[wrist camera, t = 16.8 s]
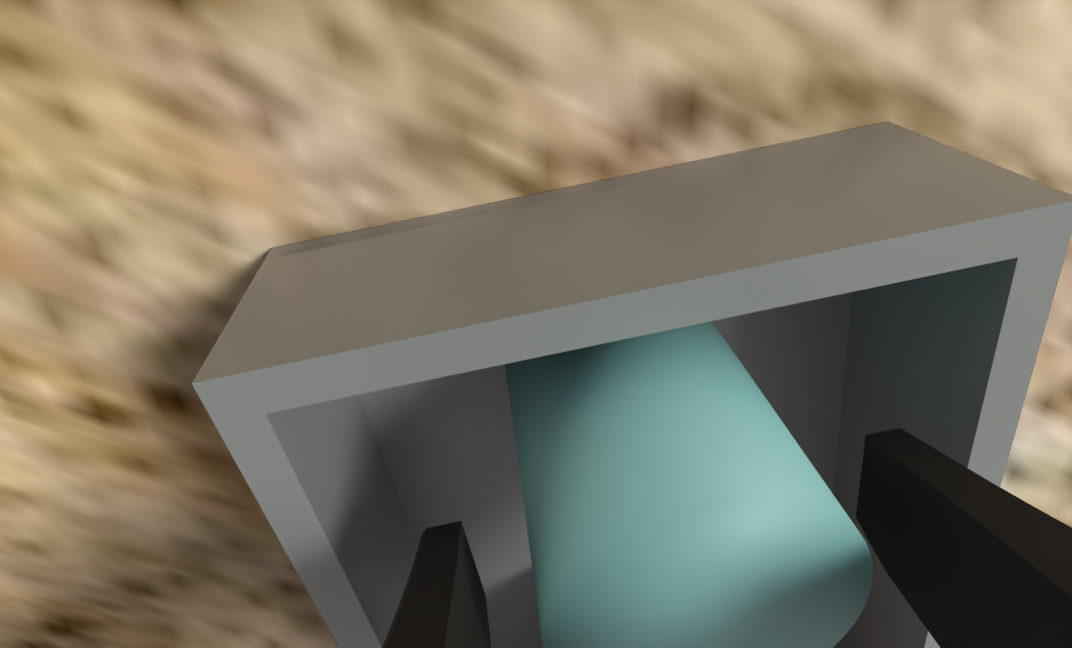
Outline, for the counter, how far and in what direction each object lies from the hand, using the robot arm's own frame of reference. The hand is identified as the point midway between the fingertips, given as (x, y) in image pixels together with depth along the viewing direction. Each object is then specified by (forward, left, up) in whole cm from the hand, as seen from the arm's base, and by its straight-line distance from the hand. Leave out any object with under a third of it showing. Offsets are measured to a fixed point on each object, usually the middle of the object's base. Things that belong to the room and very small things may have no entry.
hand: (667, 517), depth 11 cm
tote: (-4, 0, -6) cm, 7 cm away
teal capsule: (0, 0, -5) cm, 5 cm away
